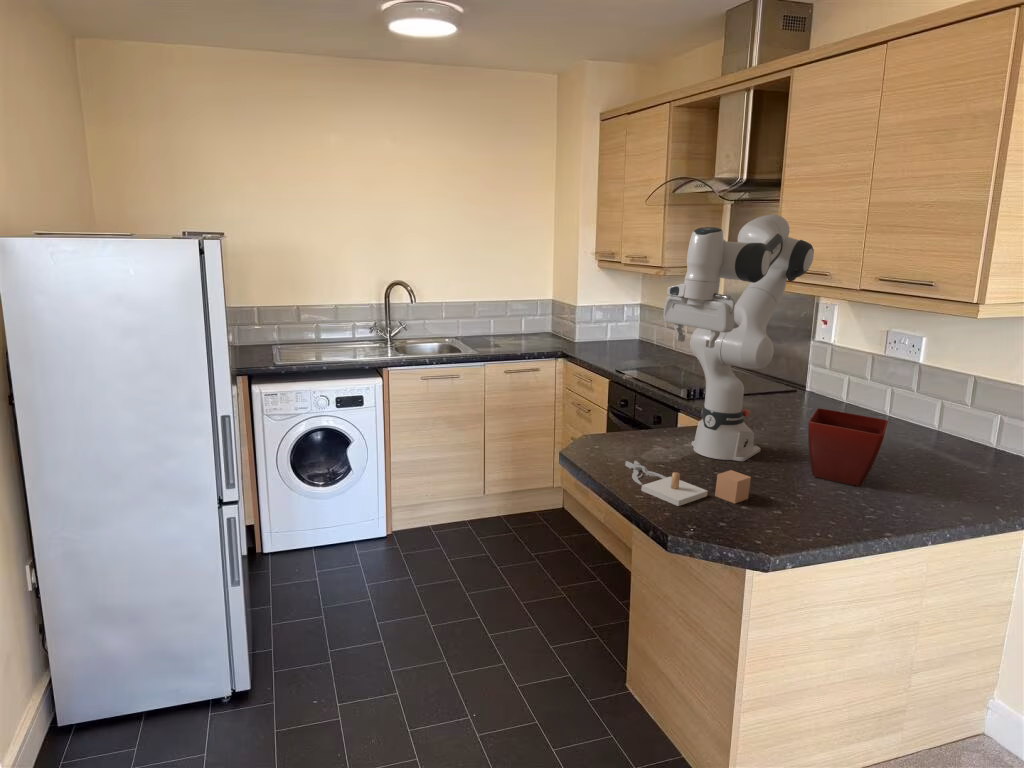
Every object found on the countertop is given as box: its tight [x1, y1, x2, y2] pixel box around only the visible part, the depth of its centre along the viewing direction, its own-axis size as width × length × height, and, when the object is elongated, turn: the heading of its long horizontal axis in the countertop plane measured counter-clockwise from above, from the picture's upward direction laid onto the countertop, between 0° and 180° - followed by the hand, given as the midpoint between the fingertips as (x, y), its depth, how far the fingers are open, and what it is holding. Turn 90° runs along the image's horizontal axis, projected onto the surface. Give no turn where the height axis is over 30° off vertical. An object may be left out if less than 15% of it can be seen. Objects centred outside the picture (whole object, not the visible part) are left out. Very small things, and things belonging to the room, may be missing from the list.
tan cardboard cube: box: [714, 469, 752, 504], centre depth 184 cm, size 6×6×6 cm
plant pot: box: [807, 408, 889, 487], centre depth 202 cm, size 19×19×17 cm
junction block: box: [640, 471, 708, 507], centre depth 184 cm, size 12×12×6 cm
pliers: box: [624, 460, 667, 486], centre depth 198 cm, size 10×2×15 cm
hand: (694, 344), depth 186 cm, fingers open, 8 cm apart
